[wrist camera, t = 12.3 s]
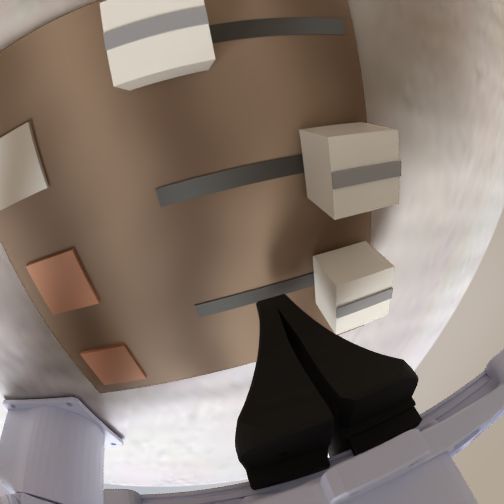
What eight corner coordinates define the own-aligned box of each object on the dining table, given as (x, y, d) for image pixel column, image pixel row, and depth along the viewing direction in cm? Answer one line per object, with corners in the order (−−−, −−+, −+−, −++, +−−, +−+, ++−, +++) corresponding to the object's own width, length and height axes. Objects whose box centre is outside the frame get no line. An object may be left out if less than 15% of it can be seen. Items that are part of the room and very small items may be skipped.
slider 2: (315, 303, 16) (336, 336, 13) (312, 255, 14) (337, 287, 12) (363, 286, 16) (388, 315, 14) (365, 240, 14) (395, 267, 12)
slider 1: (129, 90, 9) (112, 86, 7) (116, 23, 7) (98, 2, 5) (208, 69, 9) (215, 58, 7) (195, 2, 8) (198, -25, 5)
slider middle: (307, 197, 13) (335, 221, 10) (299, 129, 11) (329, 137, 9) (365, 185, 13) (400, 204, 11) (361, 122, 11) (399, 130, 9)
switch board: (101, 381, 17) (99, 395, 16) (-31, 84, 7) (-45, 85, 6) (357, 315, 19) (365, 327, 18) (329, -21, 9) (341, -29, 8)
